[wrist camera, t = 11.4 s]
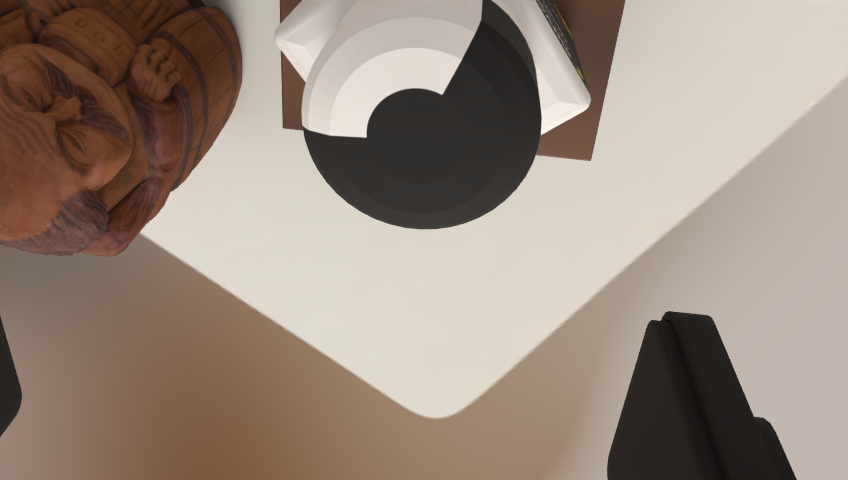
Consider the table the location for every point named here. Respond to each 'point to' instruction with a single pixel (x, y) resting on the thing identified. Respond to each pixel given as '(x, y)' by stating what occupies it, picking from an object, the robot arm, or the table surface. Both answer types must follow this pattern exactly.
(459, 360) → the table surface
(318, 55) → the medicine bottle
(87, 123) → the wooden figurine
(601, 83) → the walnut shelf
